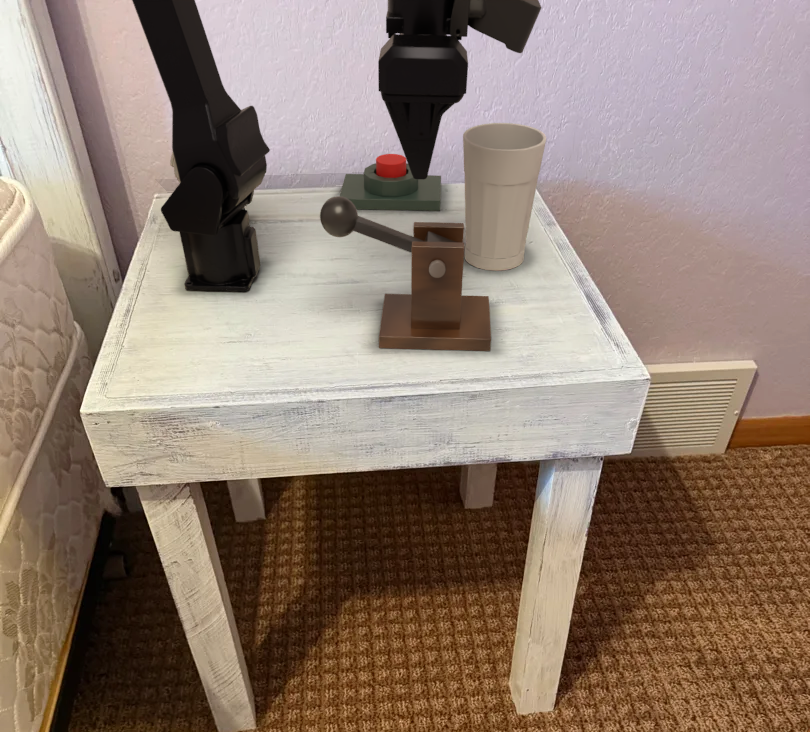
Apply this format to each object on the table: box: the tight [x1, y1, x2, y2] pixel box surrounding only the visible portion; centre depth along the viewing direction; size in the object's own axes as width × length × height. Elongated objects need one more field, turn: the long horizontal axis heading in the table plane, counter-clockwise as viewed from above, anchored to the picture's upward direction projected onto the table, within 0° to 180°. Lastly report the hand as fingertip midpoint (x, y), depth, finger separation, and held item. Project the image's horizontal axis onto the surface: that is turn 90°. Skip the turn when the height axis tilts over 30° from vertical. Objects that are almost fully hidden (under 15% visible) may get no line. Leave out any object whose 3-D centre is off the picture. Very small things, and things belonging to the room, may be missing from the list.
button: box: [375, 153, 407, 178], centre depth 91 cm, size 4×4×2 cm
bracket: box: [378, 221, 492, 352], centre depth 68 cm, size 10×8×9 cm
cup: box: [462, 122, 547, 271], centre depth 77 cm, size 8×8×12 cm
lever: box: [319, 195, 455, 254], centre depth 65 cm, size 12×3×3 cm, turn 87°
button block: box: [339, 162, 442, 212], centre depth 92 cm, size 12×8×3 cm, turn 87°
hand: (420, 158), depth 65 cm, fingers open, 9 cm apart
